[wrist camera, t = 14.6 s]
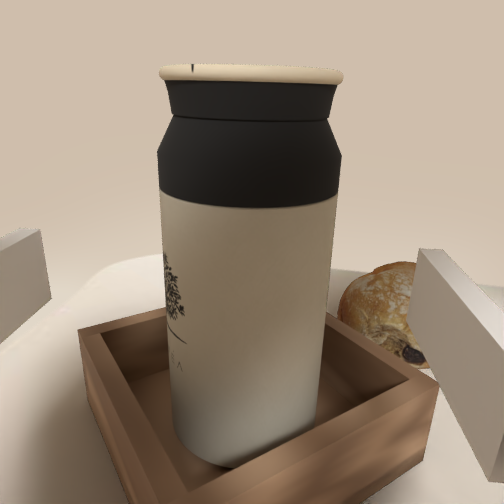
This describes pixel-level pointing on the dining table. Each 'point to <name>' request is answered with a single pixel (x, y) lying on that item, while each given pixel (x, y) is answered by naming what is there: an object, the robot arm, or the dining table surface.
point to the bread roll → (384, 310)
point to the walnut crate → (277, 460)
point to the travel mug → (246, 251)
